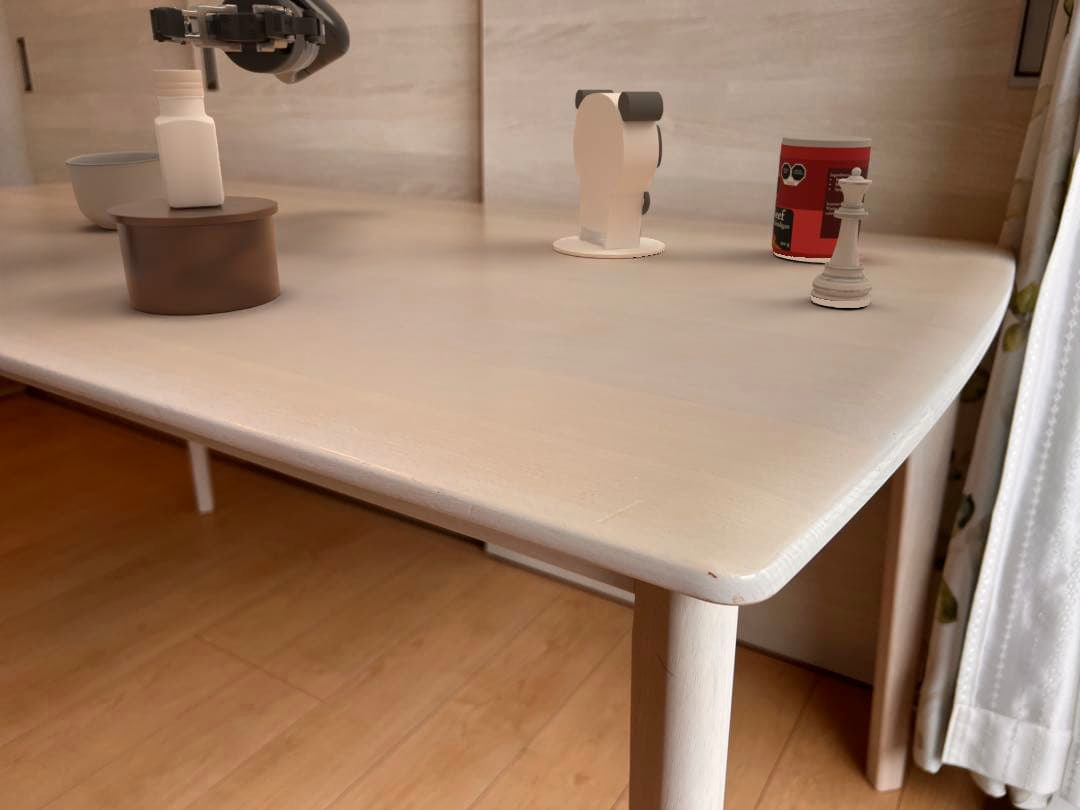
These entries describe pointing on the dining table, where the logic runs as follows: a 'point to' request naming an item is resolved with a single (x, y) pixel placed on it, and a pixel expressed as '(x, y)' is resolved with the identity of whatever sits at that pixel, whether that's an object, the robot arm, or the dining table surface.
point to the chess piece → (846, 248)
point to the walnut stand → (198, 255)
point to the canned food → (814, 191)
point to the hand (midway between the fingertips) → (216, 21)
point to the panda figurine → (614, 172)
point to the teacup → (114, 181)
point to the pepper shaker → (186, 141)
